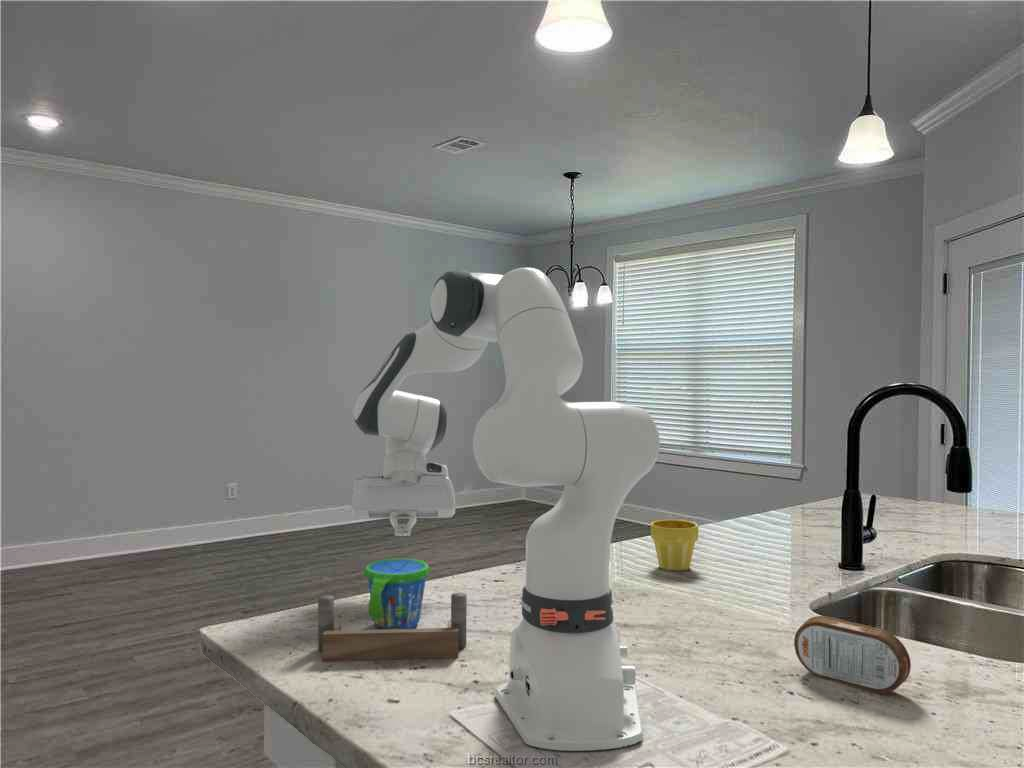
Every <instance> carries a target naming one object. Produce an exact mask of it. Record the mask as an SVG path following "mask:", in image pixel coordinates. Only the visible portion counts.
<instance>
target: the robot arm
mask: <svg viewBox="0 0 1024 768" xmlns="http://www.w3.org/2000/svg"><path fill="white" fill-rule="evenodd" d="M430 317H431V320H429V322H428V323H426V324H425V325H423V327H421V328H420V329H417V330H416V331H413V332H410V333H407V334H405V335H404V336H403V337H402V338H401V340H399V342H398V343H397V344H396V346H395V347H394V348H393V350H392V351H391V352H390V354H389V355H388V357H387V358H386V360H385V361H384V363H383V364H382V365H381V367H380V368H379V370H378V371H377V372H376V374H375V375H374V377H373V378H372V380H371V381H370V382H369V384H367V385H366V386H365V387H364V388H363V390H362V391H361V392H360V393H359V395H358V397H357V398H356V402H355V405H354V407H353V408H354V409H353V421H354V423H355V425H356V426H357V428H358V429H359V430H360V431H361V433H363V434H364V435H367V436H368V435H369V436H376V437H380V436H381V437H385V444H384V449H385V453H386V456H385V458H384V460H383V461H384V462H383V471H382V472H383V473H382V475H372V476H371V475H370V476H368V475H361V476H360V477H359V478H356V479H355V480H353V482H352V484H351V492H352V497H351V502H350V511H351V515H352V516H353V517H354V518H355V520H361V519H362V520H365V519H366V520H370V519H372V520H373V519H374V520H375V519H376V520H377V519H380V520H381V519H383V520H384V519H389V522H390V524H391V525H392V527H393V528H394V537H411V530H412V529H413V527H415V525H416V523H417V519H444V518H445V519H451V518H452V517H453V516H454V515H455V514H456V498H455V497H456V496H455V490H454V485H453V483H452V481H451V479H450V477H449V474H450V473H449V469H448V467H447V466H446V465H444V464H440V463H438V462H433V461H431V460H427V453H428V452H430V451H431V452H432V451H433V450H434V449H435V448H436V447H438V445H439V444H441V443H442V442H443V440H444V438H445V435H446V432H447V421H448V413H447V410H446V408H445V405H444V404H443V402H441V400H440V399H437V398H434V397H430V396H427V395H422V394H416V393H411V392H406V391H401V390H398V388H399V386H400V385H401V384H402V382H403V381H404V380H405V379H406V378H407V377H409V376H411V375H416V374H422V373H456V372H457V373H458V372H460V371H464V370H467V369H468V368H470V367H472V366H473V365H475V364H476V362H477V361H479V359H480V358H481V356H482V355H483V353H484V352H485V350H486V348H487V346H488V344H489V343H490V342H491V343H492V344H498V346H499V348H500V349H499V350H500V353H501V356H502V357H501V358H502V362H503V367H504V374H505V387H504V388H505V389H504V391H503V393H502V396H501V397H500V399H499V400H498V401H497V402H496V403H495V404H494V405H493V406H491V407H490V408H488V410H486V411H485V412H484V414H482V416H481V417H480V419H479V421H478V422H477V424H476V426H475V429H474V432H473V437H472V452H473V457H474V460H475V463H476V464H477V467H478V469H479V470H480V472H481V473H482V474H483V475H484V477H485V478H486V479H487V480H489V481H490V482H492V483H497V484H502V485H509V486H516V487H521V488H522V487H523V488H529V487H546V486H547V487H548V486H550V487H551V486H564V488H563V492H562V494H561V496H560V498H559V500H558V501H557V502H556V504H555V505H554V506H553V507H552V508H551V509H550V510H548V511H547V512H545V513H543V514H542V515H540V516H538V518H536V519H535V520H534V521H533V522H532V524H531V525H530V526H529V529H528V531H527V533H526V537H525V585H524V586H523V588H522V596H521V597H520V598H521V600H520V601H521V602H520V604H521V615H522V620H521V621H520V623H518V625H517V626H516V627H515V628H513V630H512V631H511V632H510V638H509V640H510V641H509V643H510V645H509V660H508V661H509V664H508V667H509V668H508V681H507V682H505V683H502V684H499V685H498V686H497V687H496V688H495V692H494V693H495V695H494V696H495V698H496V700H497V702H498V703H499V705H500V706H501V708H502V709H503V711H504V712H505V714H506V715H507V716H508V718H509V720H510V722H511V723H512V725H513V726H514V728H515V729H516V731H517V732H518V734H519V736H520V737H521V738H522V740H523V742H524V743H525V744H526V745H528V746H531V747H535V748H539V749H544V750H553V751H567V752H569V751H571V752H572V751H573V752H575V751H576V752H577V751H583V752H584V751H599V750H611V749H618V748H619V749H620V748H624V747H628V745H629V746H632V745H635V744H637V742H638V743H639V741H640V742H641V741H643V738H644V735H643V727H642V722H641V721H642V720H641V714H640V706H639V701H638V700H639V699H638V693H637V688H636V687H637V686H636V666H634V665H623V664H622V658H628V646H625V645H621V644H620V641H621V639H620V638H621V629H620V628H619V627H618V626H617V625H615V624H614V623H613V622H614V600H613V596H612V595H613V594H612V592H613V591H612V589H611V588H610V587H609V585H610V583H609V581H610V557H611V543H612V536H613V530H614V526H615V522H616V519H617V516H618V514H619V512H620V509H621V507H622V505H623V503H624V501H625V500H626V498H627V496H628V494H629V493H630V492H631V491H632V489H633V487H635V486H636V484H637V483H638V482H639V481H640V480H641V479H642V478H644V476H646V475H648V473H649V472H650V471H651V470H652V469H653V467H654V466H655V464H656V462H657V459H658V457H659V454H660V453H659V452H660V447H661V445H660V444H661V442H660V434H659V429H658V427H657V424H656V421H655V420H654V418H653V417H652V416H651V415H650V413H649V412H648V411H647V410H646V409H644V408H642V407H638V406H634V405H629V404H626V403H625V404H624V403H620V402H615V401H567V400H564V399H562V398H561V397H560V396H562V395H563V394H566V393H567V391H569V390H570V389H572V387H573V386H575V384H576V383H577V382H578V380H579V379H580V377H581V375H582V372H583V371H582V370H583V366H584V357H583V354H582V351H581V348H580V345H579V342H578V339H577V336H576V333H575V330H574V327H573V325H572V321H571V319H570V316H569V313H568V312H567V308H566V306H565V303H564V301H563V300H562V298H561V296H560V294H559V292H558V290H557V289H556V287H555V286H554V284H553V282H552V281H551V279H550V278H549V277H548V275H546V274H545V273H544V272H542V271H541V270H539V269H536V268H533V267H517V268H515V269H512V270H510V271H508V272H506V273H505V274H504V275H503V274H497V273H490V272H489V273H487V272H469V271H467V270H464V269H463V270H462V269H461V270H452V271H445V272H444V273H442V275H441V276H440V277H439V278H438V279H436V282H435V284H434V286H433V288H432V292H431V297H430ZM398 519H409V520H408V522H407V523H399V522H398ZM623 746H624V747H623Z"/></svg>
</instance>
